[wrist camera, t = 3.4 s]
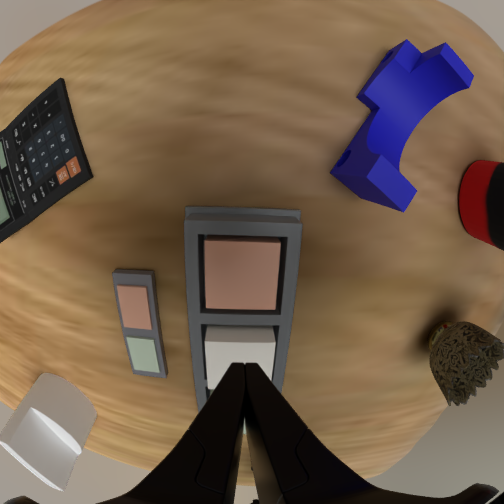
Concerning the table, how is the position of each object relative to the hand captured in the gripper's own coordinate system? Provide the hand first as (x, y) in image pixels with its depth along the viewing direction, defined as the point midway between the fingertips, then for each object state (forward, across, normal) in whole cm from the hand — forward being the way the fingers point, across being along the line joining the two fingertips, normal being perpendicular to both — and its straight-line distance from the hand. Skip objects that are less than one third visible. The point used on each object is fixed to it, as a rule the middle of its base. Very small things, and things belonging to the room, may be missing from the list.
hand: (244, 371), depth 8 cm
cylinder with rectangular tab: (+12, +22, +19) cm, 31 cm away
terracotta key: (+11, 0, 0) cm, 11 cm away
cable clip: (+12, -10, -11) cm, 19 cm away
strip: (+11, +8, +6) cm, 15 cm away
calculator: (+12, +18, -8) cm, 23 cm away
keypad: (+11, 0, +6) cm, 13 cm away
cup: (+12, -21, +8) cm, 25 cm away
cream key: (+9, 0, +6) cm, 11 cm away
